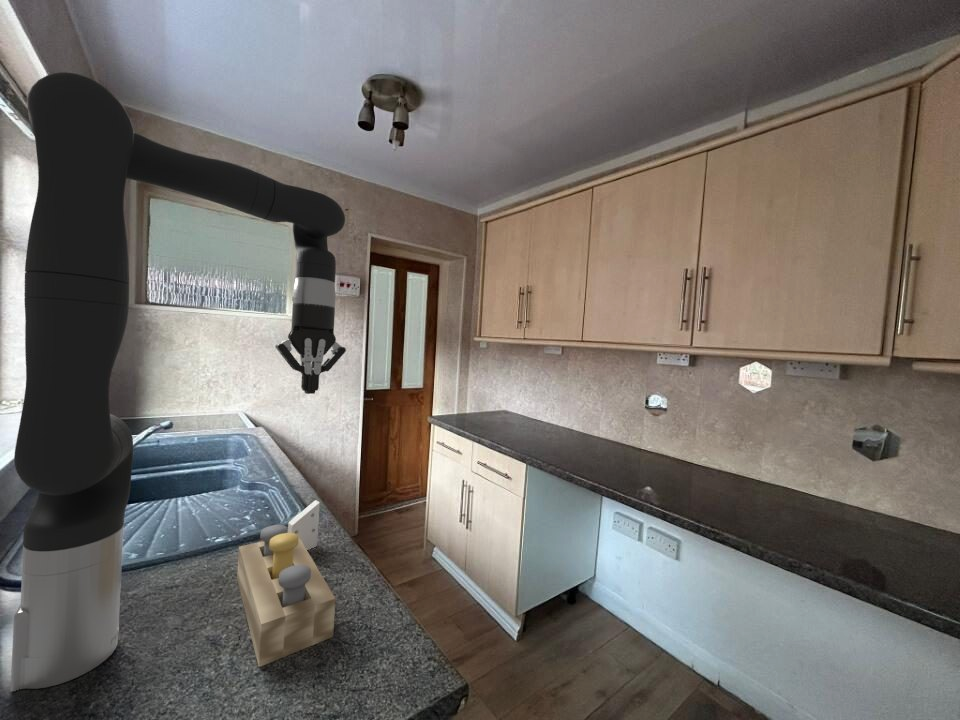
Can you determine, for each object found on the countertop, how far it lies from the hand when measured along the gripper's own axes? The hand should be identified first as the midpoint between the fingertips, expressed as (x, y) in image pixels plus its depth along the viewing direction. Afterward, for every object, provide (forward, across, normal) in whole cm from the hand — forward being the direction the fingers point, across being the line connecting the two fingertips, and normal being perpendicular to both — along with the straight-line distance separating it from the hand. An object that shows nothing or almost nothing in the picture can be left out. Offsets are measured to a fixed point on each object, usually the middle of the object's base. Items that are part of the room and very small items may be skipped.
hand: (309, 393), depth 74 cm
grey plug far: (+34, -5, -1) cm, 35 cm away
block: (+35, -5, -9) cm, 36 cm away
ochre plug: (+33, -5, -9) cm, 34 cm away
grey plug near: (+34, -5, -17) cm, 39 cm away
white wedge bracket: (+35, +2, +8) cm, 36 cm away
